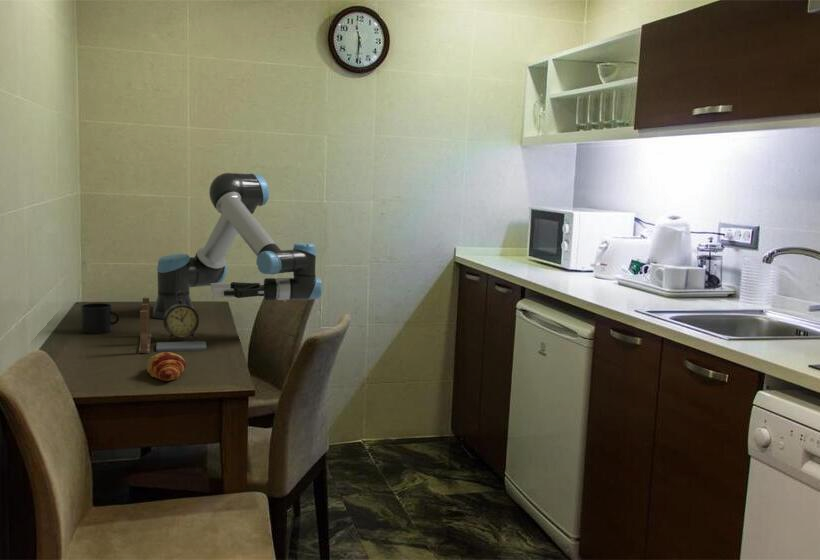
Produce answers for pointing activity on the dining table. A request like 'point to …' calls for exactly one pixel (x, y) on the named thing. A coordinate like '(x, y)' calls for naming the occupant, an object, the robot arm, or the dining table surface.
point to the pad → (181, 346)
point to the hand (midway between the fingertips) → (211, 290)
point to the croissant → (166, 366)
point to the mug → (97, 318)
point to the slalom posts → (145, 328)
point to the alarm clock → (181, 320)
